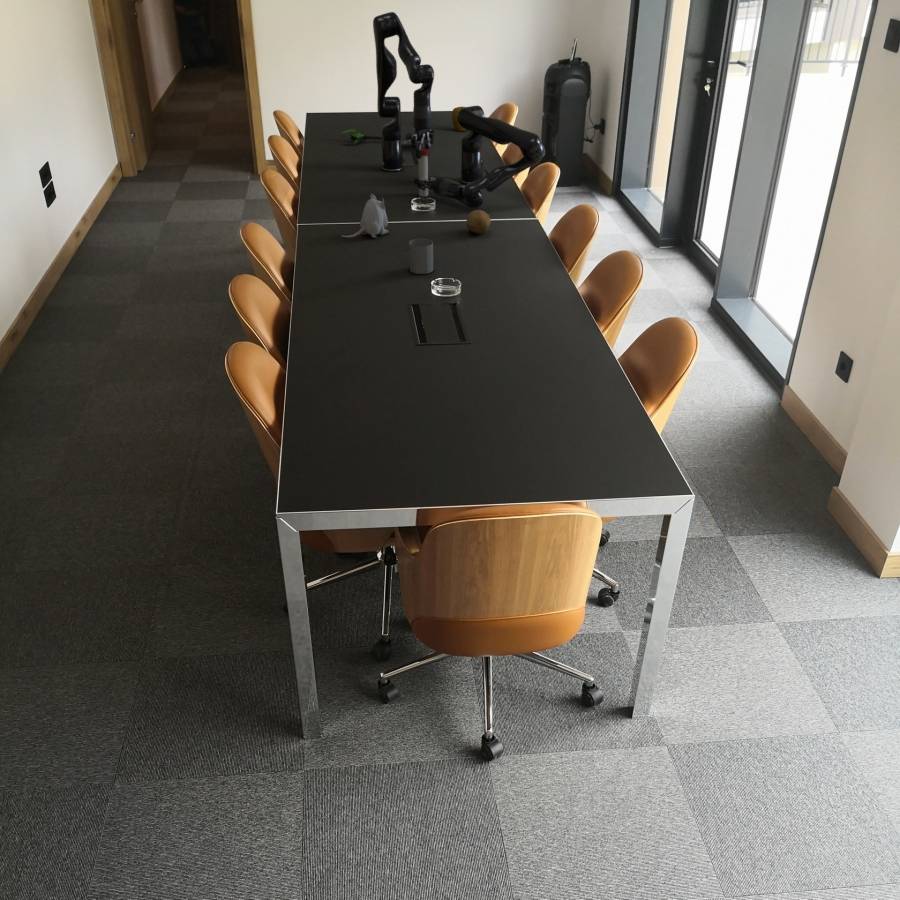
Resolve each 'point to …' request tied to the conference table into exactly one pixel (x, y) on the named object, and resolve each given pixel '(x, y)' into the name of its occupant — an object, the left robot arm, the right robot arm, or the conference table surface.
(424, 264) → the cup
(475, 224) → the potato
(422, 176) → the white tall cylinder
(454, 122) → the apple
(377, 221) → the toy
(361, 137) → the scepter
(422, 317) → the conference table surface
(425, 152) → the lid
